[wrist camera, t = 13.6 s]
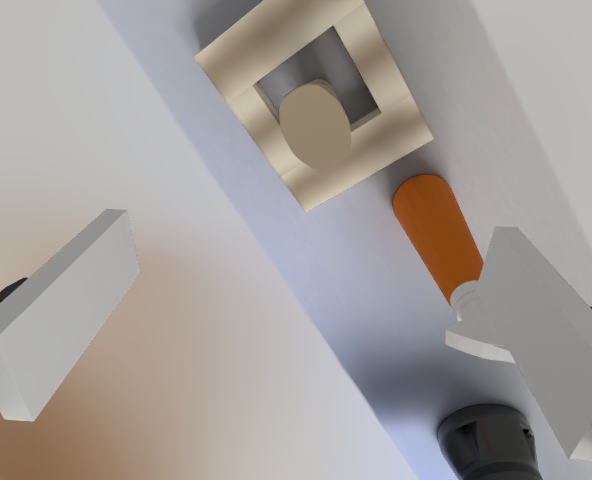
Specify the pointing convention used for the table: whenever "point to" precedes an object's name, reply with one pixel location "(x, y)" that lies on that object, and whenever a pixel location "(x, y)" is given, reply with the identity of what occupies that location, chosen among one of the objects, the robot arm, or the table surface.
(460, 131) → the table surface
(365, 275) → the table surface
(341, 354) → the table surface
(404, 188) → the spray bottle
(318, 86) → the handle
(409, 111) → the board
